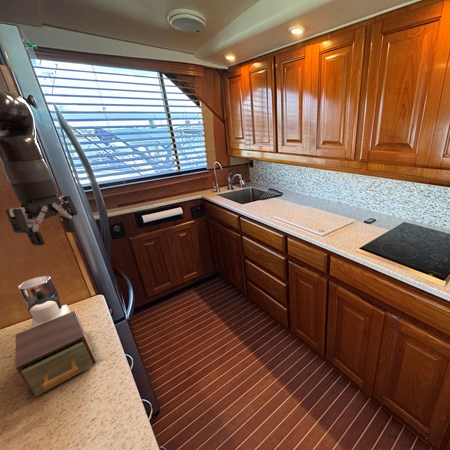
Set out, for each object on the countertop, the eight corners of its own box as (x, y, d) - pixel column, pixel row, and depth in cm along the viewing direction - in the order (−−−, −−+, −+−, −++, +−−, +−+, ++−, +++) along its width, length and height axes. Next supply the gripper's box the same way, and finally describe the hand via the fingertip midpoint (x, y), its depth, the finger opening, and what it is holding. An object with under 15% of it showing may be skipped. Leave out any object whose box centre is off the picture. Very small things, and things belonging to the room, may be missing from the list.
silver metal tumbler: (68, 311, 79) (51, 272, 74) (69, 322, 75) (51, 281, 69) (39, 322, 75) (18, 282, 69) (38, 334, 70) (15, 292, 65)
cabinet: (96, 362, 61) (84, 335, 58) (33, 396, 53) (15, 367, 50) (85, 334, 70) (75, 310, 67) (30, 360, 62) (15, 334, 59)
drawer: (97, 377, 56) (87, 355, 54) (37, 412, 49) (22, 389, 47) (84, 338, 67) (74, 318, 65) (33, 362, 60) (20, 341, 58)
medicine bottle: (43, 334, 70) (25, 301, 66) (75, 322, 75) (60, 290, 70) (40, 349, 65) (21, 314, 61) (75, 335, 70) (59, 301, 65)
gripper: (45, 174, 66) (67, 228, 72) (-20, 185, 53) (13, 250, 58) (71, 174, 66) (91, 228, 72) (12, 184, 52) (42, 250, 58)
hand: (56, 238), depth 65 cm, fingers open, 8 cm apart
